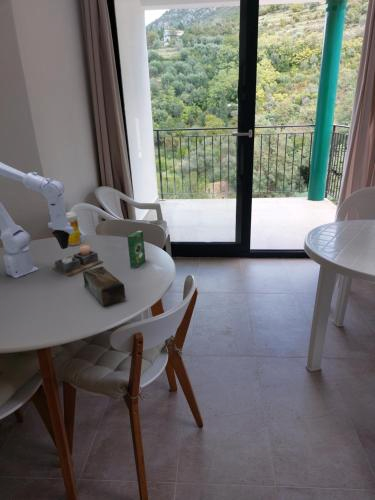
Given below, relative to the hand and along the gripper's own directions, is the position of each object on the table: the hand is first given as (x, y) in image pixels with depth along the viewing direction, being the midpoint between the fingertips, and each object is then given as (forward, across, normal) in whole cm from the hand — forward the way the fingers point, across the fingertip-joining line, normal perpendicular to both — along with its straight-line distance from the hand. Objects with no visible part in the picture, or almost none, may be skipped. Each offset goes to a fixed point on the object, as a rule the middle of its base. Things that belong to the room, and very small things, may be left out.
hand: (64, 248), depth 131 cm
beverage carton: (+10, -27, +4) cm, 29 cm away
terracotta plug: (+6, 0, -8) cm, 10 cm away
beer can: (+10, +24, -19) cm, 33 cm away
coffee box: (+9, -20, -19) cm, 29 cm away
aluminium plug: (+8, 0, 0) cm, 8 cm away
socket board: (+9, 0, -4) cm, 10 cm away
